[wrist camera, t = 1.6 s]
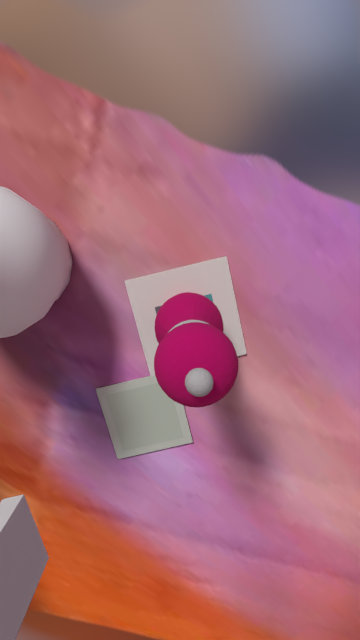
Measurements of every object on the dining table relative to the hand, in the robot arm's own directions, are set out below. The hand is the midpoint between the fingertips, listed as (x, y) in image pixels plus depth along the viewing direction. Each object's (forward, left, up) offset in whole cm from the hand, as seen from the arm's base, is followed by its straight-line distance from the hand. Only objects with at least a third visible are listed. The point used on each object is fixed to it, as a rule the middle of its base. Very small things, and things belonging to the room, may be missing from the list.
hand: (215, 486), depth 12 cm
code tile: (0, 0, -29) cm, 29 cm away
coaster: (-8, -11, -29) cm, 32 cm away
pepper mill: (0, 0, -29) cm, 29 cm away
